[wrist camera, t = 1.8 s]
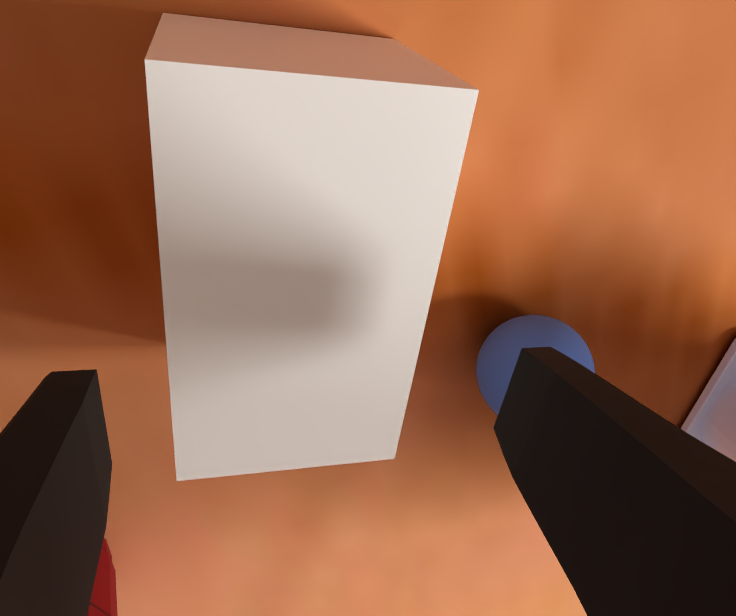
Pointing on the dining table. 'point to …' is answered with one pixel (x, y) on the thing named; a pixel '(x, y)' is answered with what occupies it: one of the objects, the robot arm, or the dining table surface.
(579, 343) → the ball
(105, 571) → the plastic cup
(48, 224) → the dining table surface
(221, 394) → the cream rectangular prism
